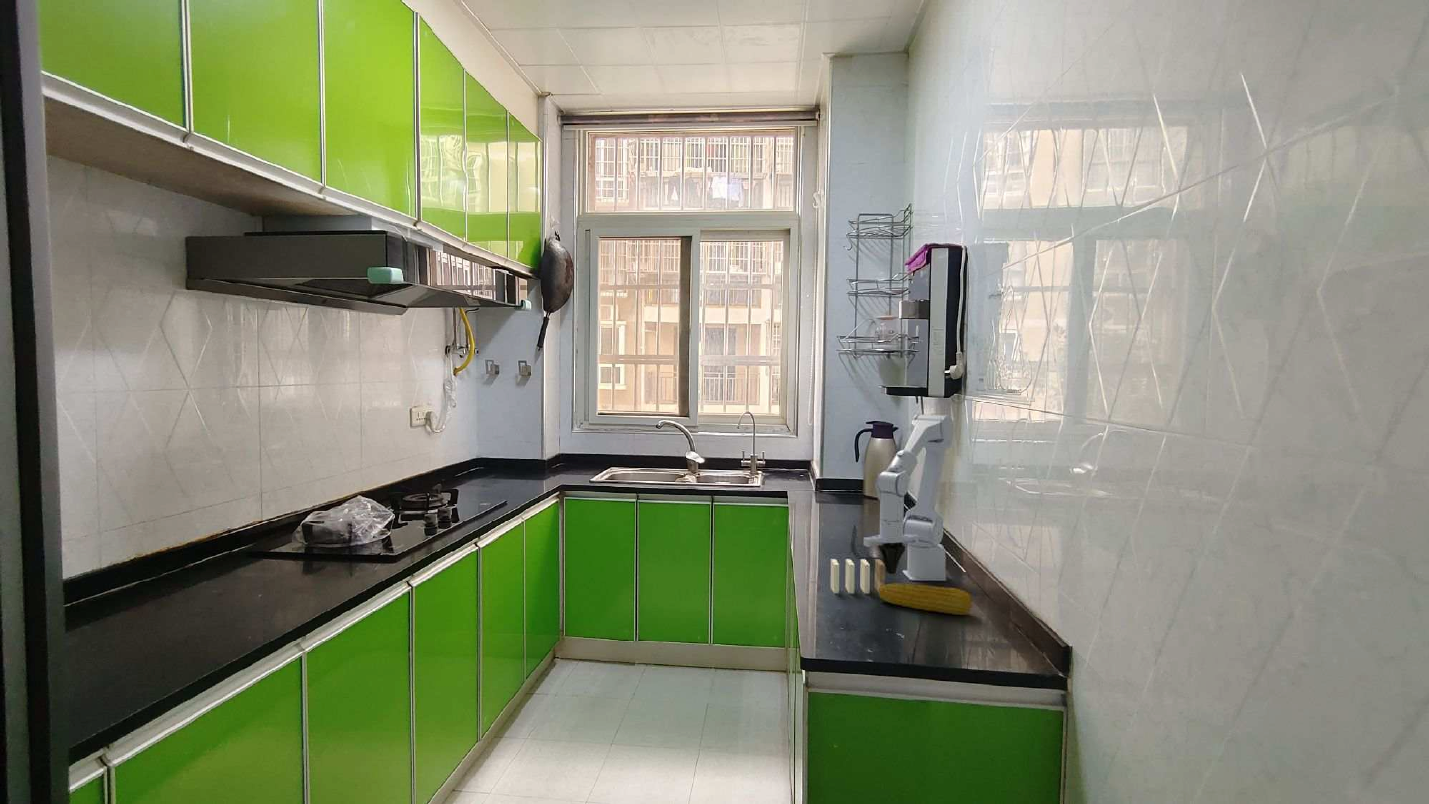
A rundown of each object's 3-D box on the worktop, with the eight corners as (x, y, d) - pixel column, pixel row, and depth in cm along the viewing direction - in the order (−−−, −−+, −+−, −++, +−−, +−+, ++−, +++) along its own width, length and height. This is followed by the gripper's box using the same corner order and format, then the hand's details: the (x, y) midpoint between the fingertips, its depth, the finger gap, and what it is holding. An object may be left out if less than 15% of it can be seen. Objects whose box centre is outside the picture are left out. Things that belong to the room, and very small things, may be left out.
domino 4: (879, 587, 171) (879, 559, 171) (884, 593, 166) (884, 564, 166) (874, 587, 171) (875, 559, 171) (879, 593, 166) (880, 564, 166)
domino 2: (850, 587, 171) (850, 559, 171) (854, 593, 166) (854, 564, 166) (845, 587, 171) (845, 559, 171) (849, 593, 166) (849, 564, 166)
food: (972, 613, 153) (972, 587, 152) (968, 621, 148) (969, 594, 147) (880, 598, 163) (880, 574, 162) (874, 605, 158) (874, 580, 157)
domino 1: (835, 587, 171) (835, 559, 171) (838, 593, 166) (839, 564, 166) (830, 587, 171) (830, 559, 171) (834, 593, 166) (834, 564, 166)
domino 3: (864, 587, 171) (865, 559, 171) (869, 593, 166) (869, 564, 166) (860, 587, 171) (860, 559, 171) (864, 593, 166) (865, 564, 166)
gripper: (908, 514, 173) (907, 566, 174) (858, 517, 170) (857, 570, 170) (923, 520, 167) (923, 574, 167) (871, 523, 163) (871, 578, 163)
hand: (890, 572), depth 168 cm, fingers closed
